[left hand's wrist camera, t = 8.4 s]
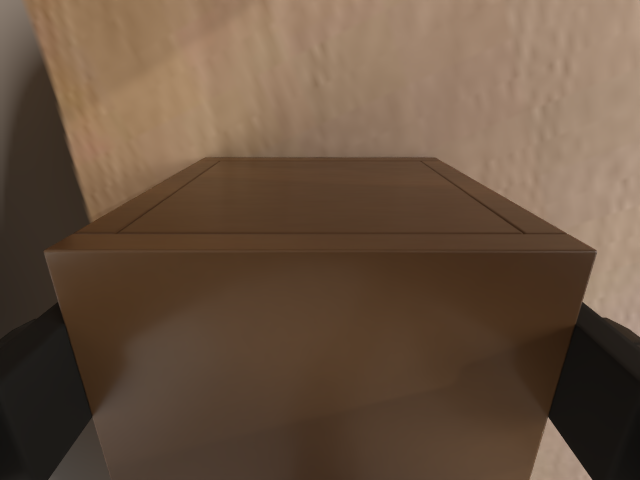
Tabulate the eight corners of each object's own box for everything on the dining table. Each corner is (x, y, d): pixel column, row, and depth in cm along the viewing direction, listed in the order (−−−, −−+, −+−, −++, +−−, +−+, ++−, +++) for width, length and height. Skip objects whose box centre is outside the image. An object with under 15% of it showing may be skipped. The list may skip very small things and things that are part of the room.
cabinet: (405, 424, 25) (470, 678, 14) (234, 424, 25) (169, 678, 14) (435, 157, 18) (599, 250, 8) (204, 157, 18) (40, 250, 8)
